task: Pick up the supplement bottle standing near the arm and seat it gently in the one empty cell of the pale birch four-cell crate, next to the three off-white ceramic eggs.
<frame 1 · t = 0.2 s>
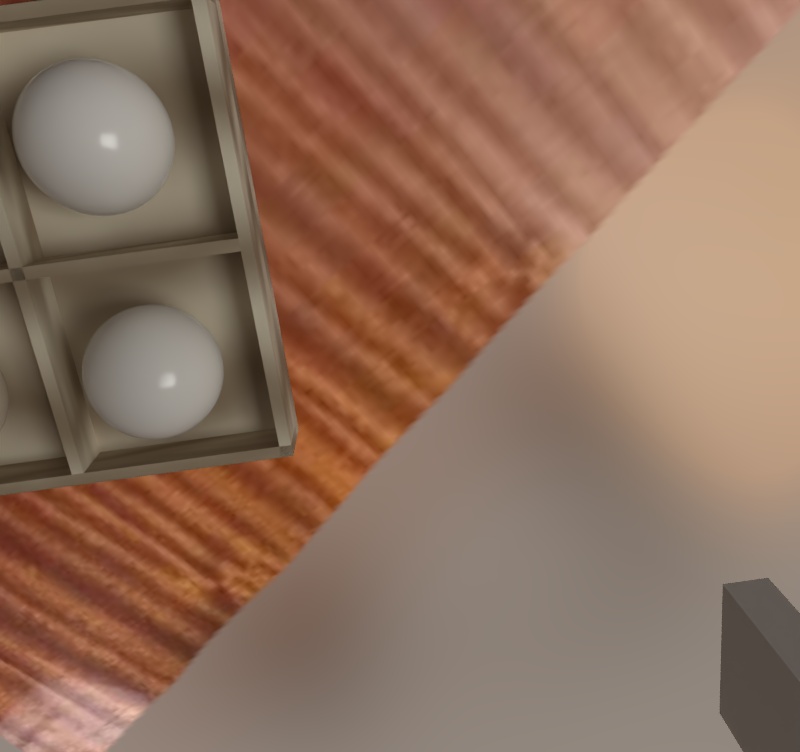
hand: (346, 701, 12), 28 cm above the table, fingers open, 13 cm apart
egg c: (171, 352, 38), point 1 cm above the table, touching crate
crate: (48, 260, 37), on the table
egg a: (119, 138, 34), point 1 cm above the table, touching crate
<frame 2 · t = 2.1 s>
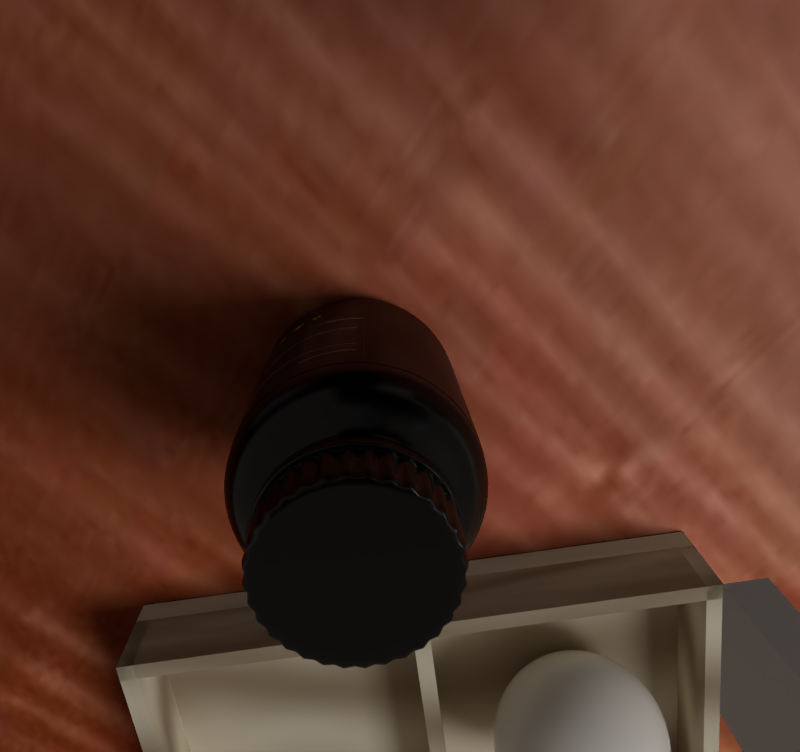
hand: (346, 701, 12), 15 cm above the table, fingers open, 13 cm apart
egg a: (558, 679, 30), point 1 cm above the table, touching crate
supplement bottle: (359, 381, 27), on the table
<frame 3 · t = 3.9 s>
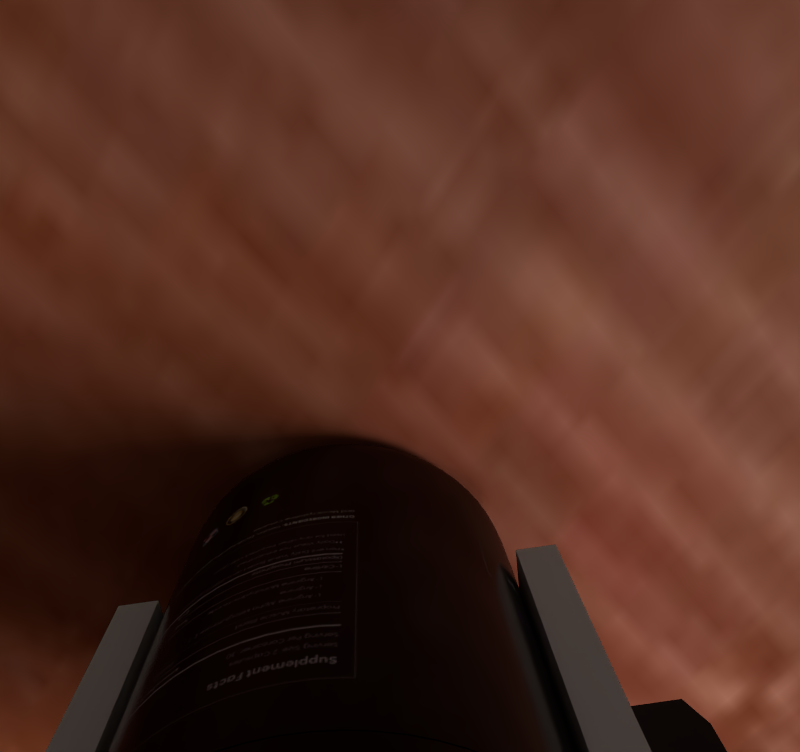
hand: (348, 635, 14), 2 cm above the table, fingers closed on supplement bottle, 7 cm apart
supplement bottle: (349, 567, 16), on the table, touching gripper
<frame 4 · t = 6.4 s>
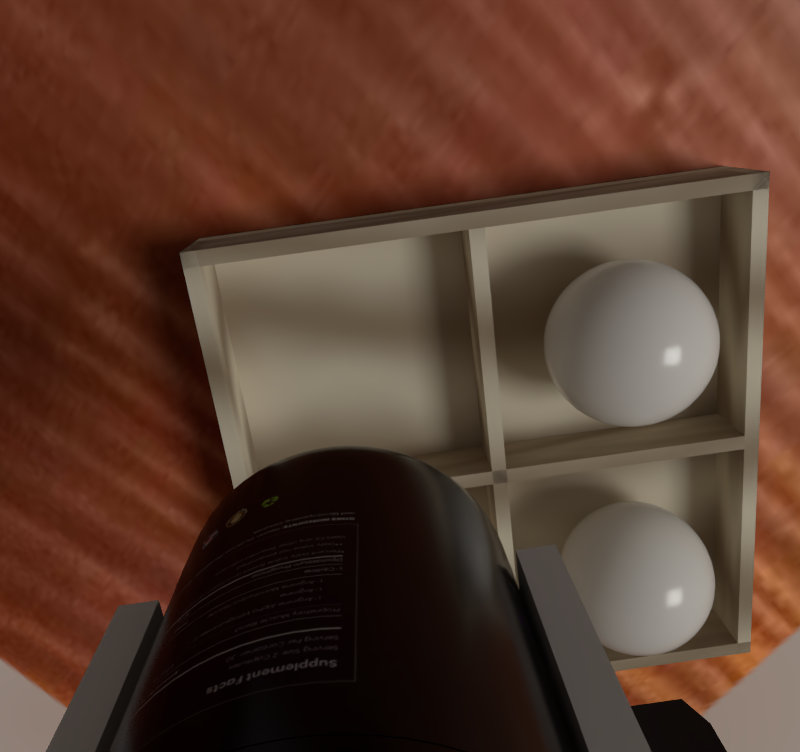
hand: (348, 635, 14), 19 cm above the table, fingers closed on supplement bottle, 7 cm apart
egg c: (610, 536, 34), point 1 cm above the table, touching crate
crate: (485, 442, 33), on the table
egg a: (602, 321, 31), point 1 cm above the table, touching crate
supplement bottle: (349, 569, 16), point 17 cm above the table, touching gripper
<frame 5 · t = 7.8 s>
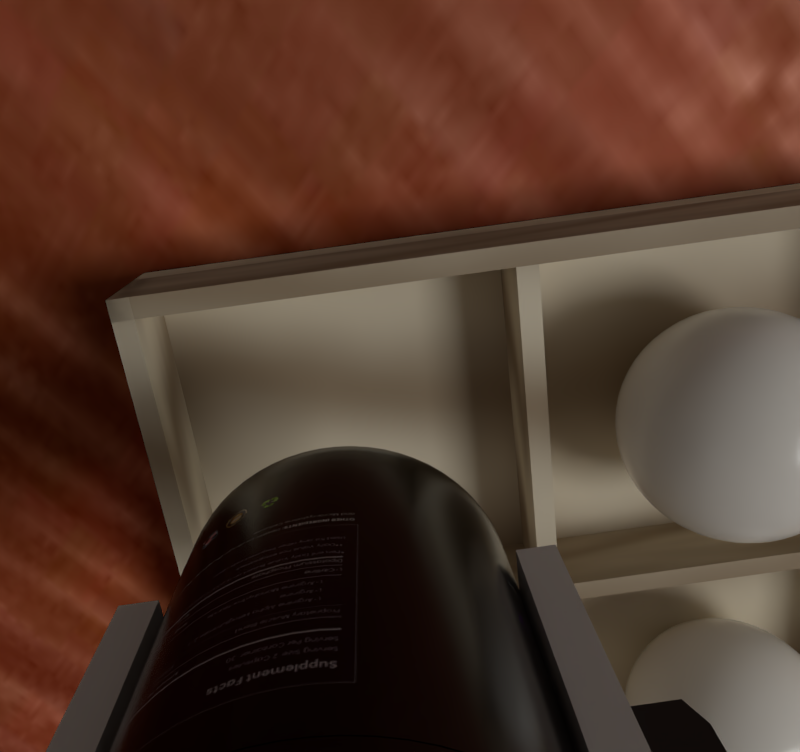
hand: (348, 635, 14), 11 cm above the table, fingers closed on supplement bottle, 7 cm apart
egg c: (685, 653, 27), point 1 cm above the table, touching crate
crate: (526, 533, 26), on the table
egg a: (687, 383, 23), point 1 cm above the table, touching crate
supplement bottle: (349, 569, 16), point 8 cm above the table, touching gripper
when the fingers open (5 cm above the table, at t = 9.1 s): supplement bottle drops 2 cm, resting on crate.
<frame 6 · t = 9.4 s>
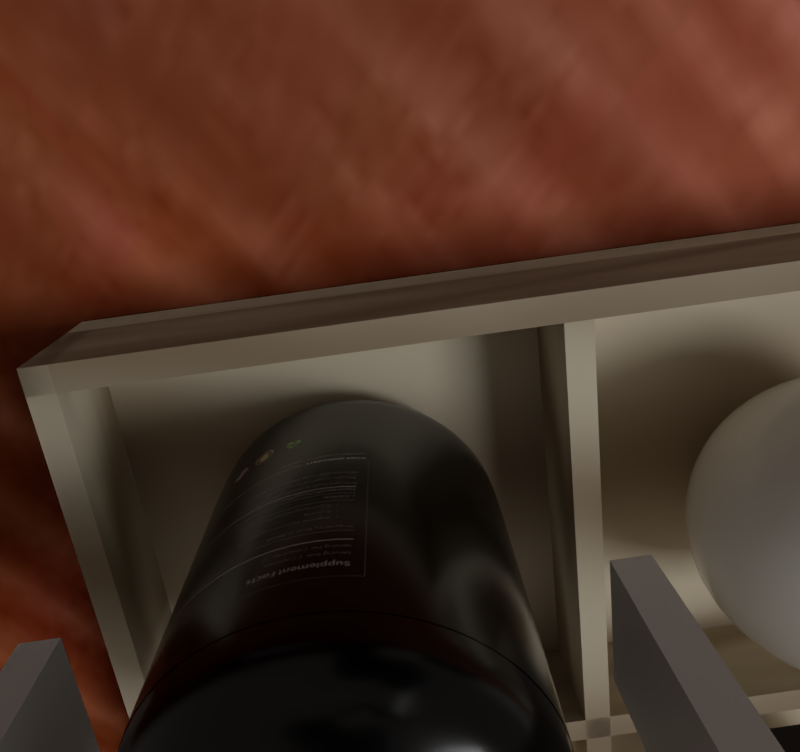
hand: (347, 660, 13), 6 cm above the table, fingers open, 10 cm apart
crate: (560, 632, 21), on the table
egg a: (767, 457, 18), point 1 cm above the table, touching crate
supplement bottle: (360, 509, 18), point 1 cm above the table, touching crate
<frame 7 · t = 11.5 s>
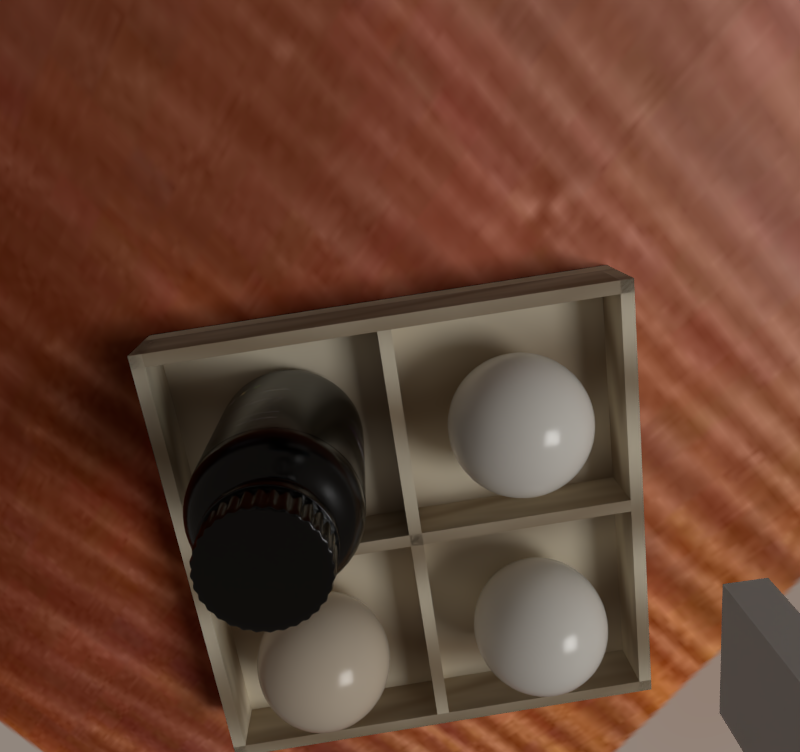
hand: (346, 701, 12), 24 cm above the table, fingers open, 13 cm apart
egg c: (525, 586, 38), point 1 cm above the table, touching crate
crate: (410, 504, 38), on the table
egg a: (505, 400, 35), point 1 cm above the table, touching crate
supplement bottle: (293, 430, 35), point 1 cm above the table, touching crate
egg b: (326, 618, 38), point 1 cm above the table, touching crate
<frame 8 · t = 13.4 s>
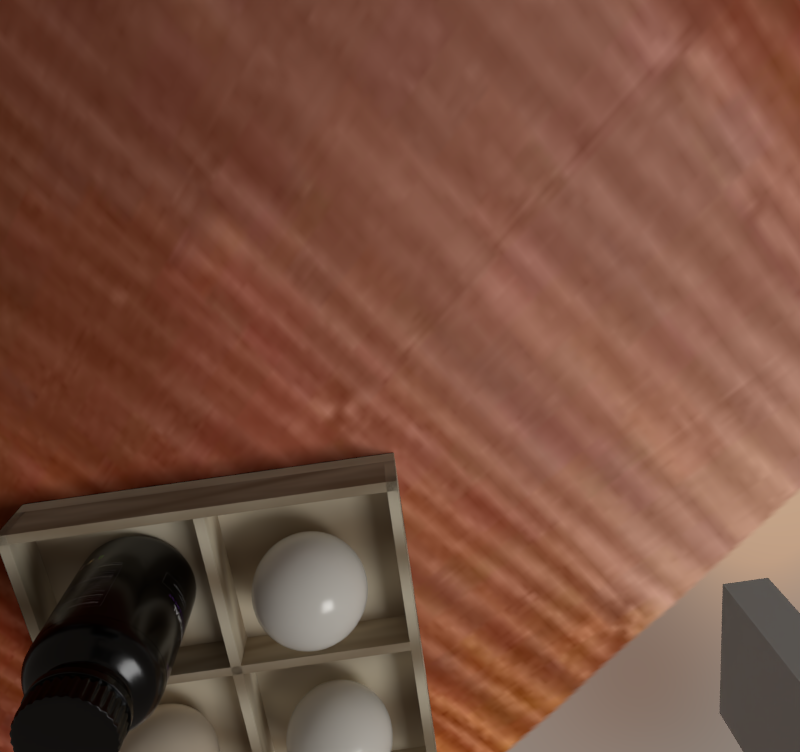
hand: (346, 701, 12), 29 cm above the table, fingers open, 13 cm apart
egg c: (341, 697, 47), point 1 cm above the table, touching crate
crate: (245, 631, 46), on the table
egg a: (313, 557, 43), point 1 cm above the table, touching crate
supplement bottle: (141, 578, 43), point 1 cm above the table, touching crate
egg b: (177, 720, 47), point 1 cm above the table, touching crate
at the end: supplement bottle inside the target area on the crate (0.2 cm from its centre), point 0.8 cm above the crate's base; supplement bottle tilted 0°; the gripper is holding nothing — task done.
